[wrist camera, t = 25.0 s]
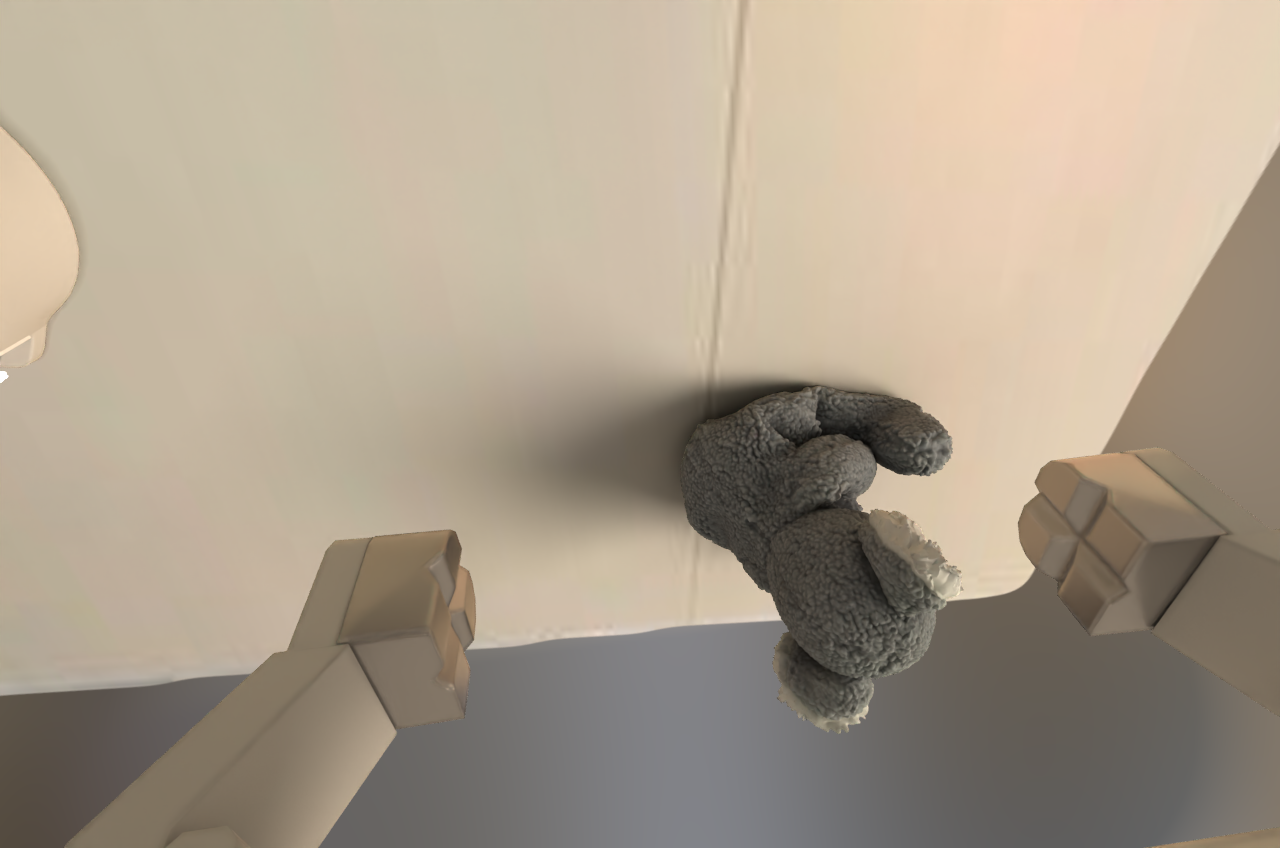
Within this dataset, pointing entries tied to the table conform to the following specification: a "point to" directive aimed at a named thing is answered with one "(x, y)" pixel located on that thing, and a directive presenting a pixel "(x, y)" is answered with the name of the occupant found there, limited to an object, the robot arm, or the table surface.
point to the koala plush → (825, 536)
